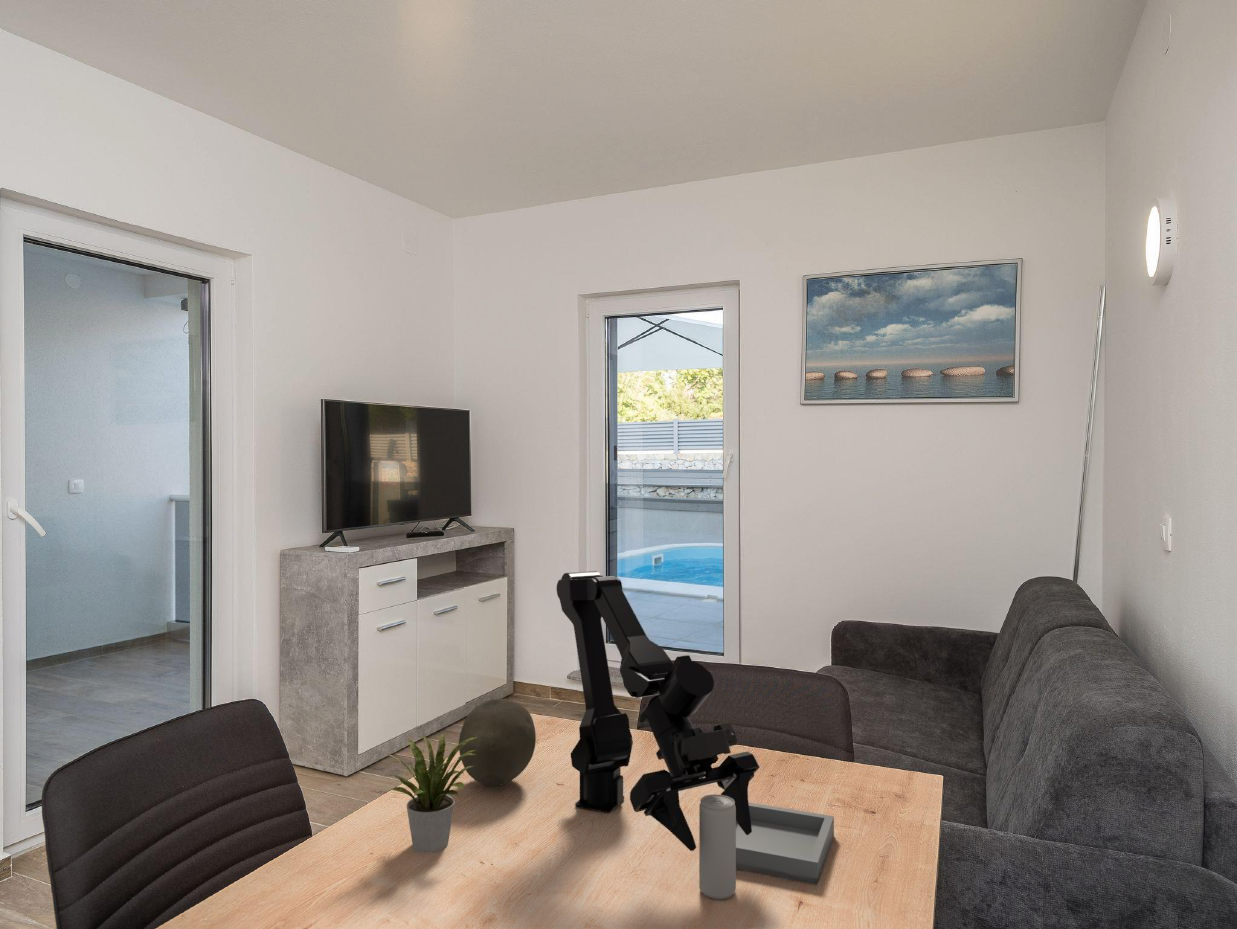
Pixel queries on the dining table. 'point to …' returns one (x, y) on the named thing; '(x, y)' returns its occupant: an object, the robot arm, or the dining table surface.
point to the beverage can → (717, 846)
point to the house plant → (431, 796)
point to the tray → (785, 843)
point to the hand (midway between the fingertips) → (722, 841)
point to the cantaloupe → (497, 741)
